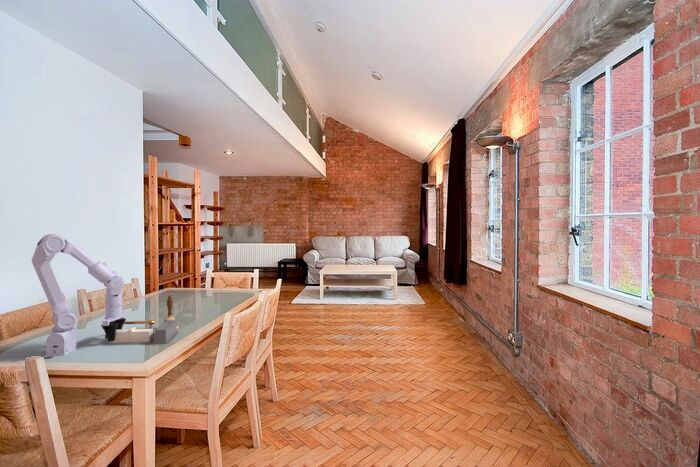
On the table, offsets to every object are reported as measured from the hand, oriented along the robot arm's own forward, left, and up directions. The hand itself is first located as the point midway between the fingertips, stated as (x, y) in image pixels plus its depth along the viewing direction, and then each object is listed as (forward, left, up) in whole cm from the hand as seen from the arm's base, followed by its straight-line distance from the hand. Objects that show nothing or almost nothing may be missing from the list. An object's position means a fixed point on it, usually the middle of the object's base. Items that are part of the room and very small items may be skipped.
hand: (113, 338), depth 149 cm
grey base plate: (+2, -10, -2) cm, 10 cm away
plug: (0, -5, -1) cm, 6 cm away
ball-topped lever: (+9, -5, +4) cm, 11 cm away
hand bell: (+17, -16, -2) cm, 23 cm away
